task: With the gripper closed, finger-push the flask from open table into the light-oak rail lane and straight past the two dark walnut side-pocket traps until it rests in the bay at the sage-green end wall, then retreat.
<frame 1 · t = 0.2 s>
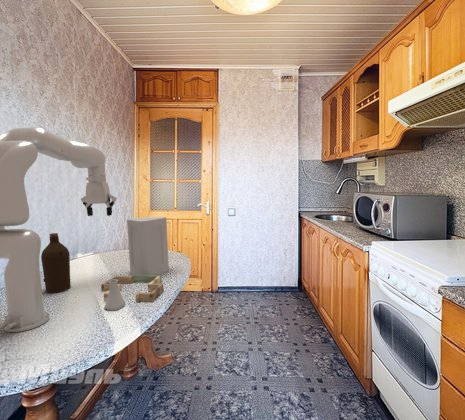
hand: (99, 215, 137), 31 cm above the table, fingers open, 9 cm apart
flask: (115, 307, 107), on the table
trap box: (134, 291, 123), on the table
paper bag: (148, 274, 146), on the table
olive oil: (58, 289, 128), on the table
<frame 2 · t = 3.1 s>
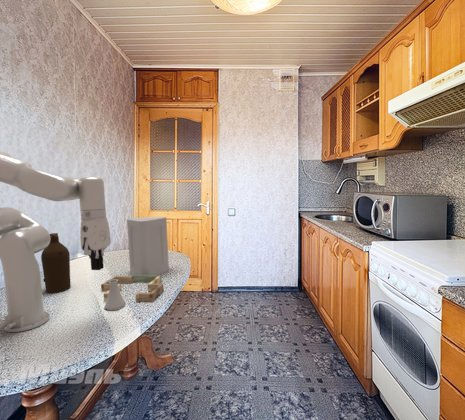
hand: (97, 268, 97), 17 cm above the table, fingers closed
nothing on the table moved.
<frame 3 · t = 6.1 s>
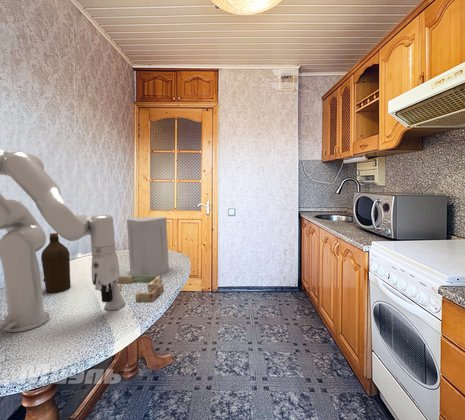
hand: (107, 301, 102), 4 cm above the table, fingers closed
flask: (115, 307, 107), on the table, touching gripper
everything else where it was.
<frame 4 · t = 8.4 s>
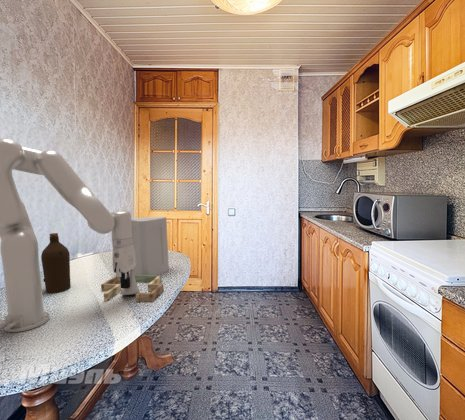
hand: (125, 287, 115), 4 cm above the table, fingers closed
flask: (130, 294, 118), point 1 cm above the table, touching gripper
everything else where it was.
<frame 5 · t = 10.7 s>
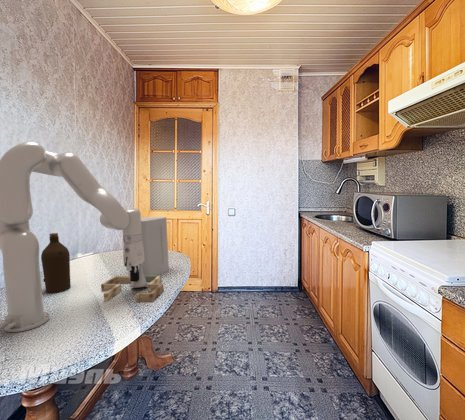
hand: (134, 280, 123), 4 cm above the table, fingers closed
flask: (138, 287, 126), resting in trap box, touching gripper
everything else where it was.
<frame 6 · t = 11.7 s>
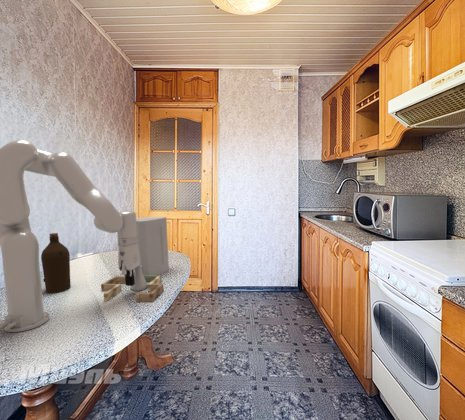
hand: (130, 284, 119), 4 cm above the table, fingers closed
flask: (139, 288, 126), resting in trap box
everything else where it was.
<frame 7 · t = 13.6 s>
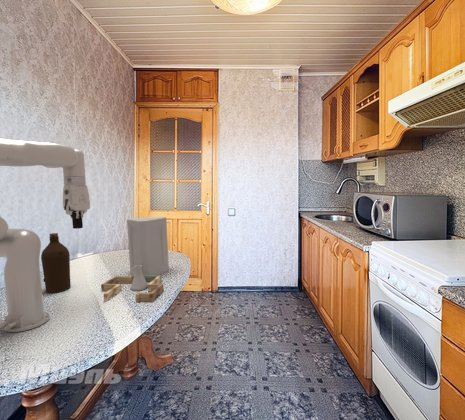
hand: (77, 228, 114), 29 cm above the table, fingers closed
nothing on the table moved.
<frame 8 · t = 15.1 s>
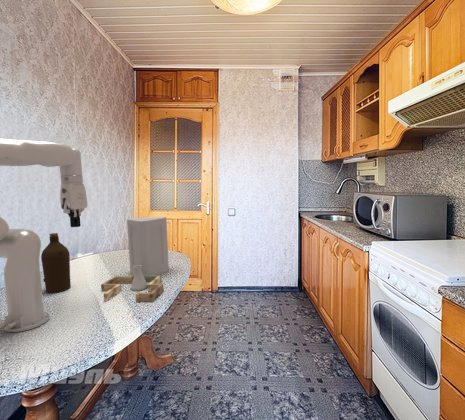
hand: (75, 226, 115), 29 cm above the table, fingers closed
nothing on the table moved.
at the end: flask inside the target area on the trap box (3.8 cm from its centre), point 0.0 cm above the trap box's base; flask tilted 0° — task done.
